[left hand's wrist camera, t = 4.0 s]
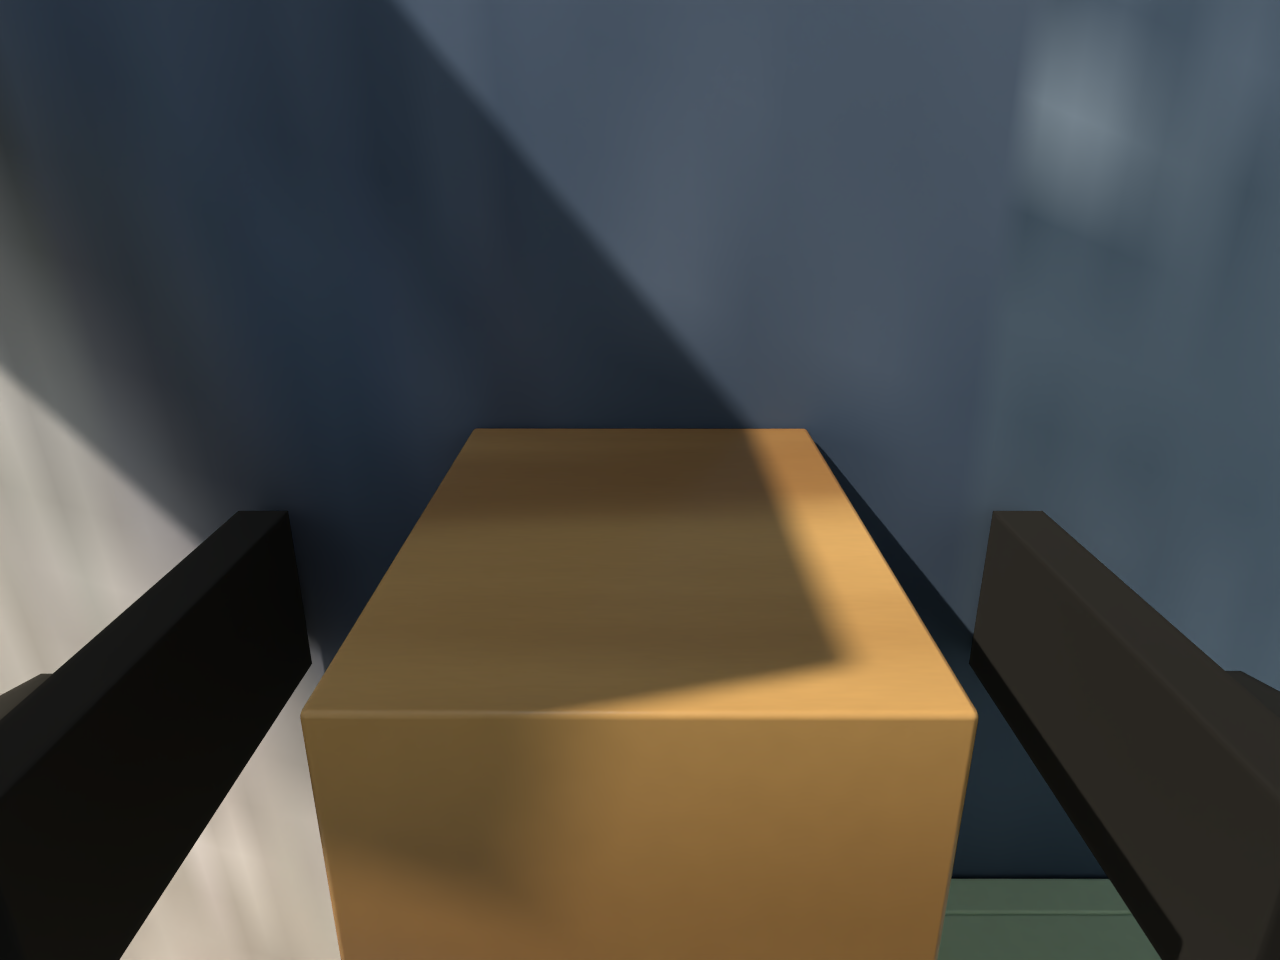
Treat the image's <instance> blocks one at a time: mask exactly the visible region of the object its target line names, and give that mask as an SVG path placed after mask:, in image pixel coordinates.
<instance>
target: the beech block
mask: <svg viewBox="0 0 1280 960" xmlns="http://www.w3.org/2000/svg"><path fill="white" fill-rule="evenodd" d="M300 717H301V724H302V730H303V736H304V742H305V748H306V754H307V760H308V765H309V771H310V777H311V783H312V789H313V795H314V801H315V807H316V813H317V819H318V825H319V831H320V837H321V843H322V849H323V855H324V861H325V867H326V873H327V878H328V884H329V890H330V896H331V902H332V908H333V914H334V920H335V926H336V932H337V938H338V944H339V950H340V956H341V960H938V954H939V948H940V942H941V936H942V930H943V924H944V918H945V912H946V906H947V901H948V895H949V889H950V883H951V877H952V871H953V865H954V859H955V853H956V848H957V842H958V836H959V830H960V824H961V818H962V812H963V806H964V800H965V794H966V789H967V783H968V777H969V771H970V765H971V759H972V753H973V747H974V741H975V736H976V730H977V724H978V713H977V710H976V709H975V707H974V705H973V704H972V702H971V701H970V699H969V697H968V696H967V694H966V692H965V691H964V689H963V687H962V686H961V684H960V682H959V681H958V679H957V677H956V676H955V674H954V672H953V671H952V669H951V667H950V666H949V664H948V663H947V661H946V659H945V658H944V656H943V654H942V653H941V651H940V649H939V648H938V646H937V644H936V643H935V641H934V639H933V638H932V636H931V634H930V633H929V631H928V629H927V628H926V626H925V625H924V623H923V621H922V620H921V618H920V616H919V615H918V613H917V611H916V610H915V608H914V606H913V605H912V603H911V601H910V600H909V598H908V596H907V595H906V593H905V591H904V590H903V588H902V587H901V585H900V583H899V582H898V580H897V578H896V577H895V575H894V573H893V572H892V570H891V568H890V567H889V565H888V563H887V562H886V560H885V558H884V557H883V555H882V553H881V552H880V550H879V549H878V547H877V545H876V544H875V542H874V540H873V539H872V537H871V535H870V534H869V532H868V530H867V529H866V527H865V525H864V524H863V522H862V520H861V519H860V517H859V515H858V514H857V512H856V510H855V509H854V507H853V506H852V504H851V502H850V501H849V499H848V497H847V496H846V494H845V492H844V491H843V489H842V487H841V486H840V484H839V482H838V481H837V479H836V477H835V476H834V474H833V472H832V471H831V469H830V468H829V466H828V464H827V463H826V461H825V459H824V458H823V456H822V454H821V453H820V451H819V449H818V448H817V446H816V444H815V443H814V441H813V439H812V438H811V436H810V434H809V433H808V431H807V430H805V429H474V430H473V431H472V433H471V435H470V436H469V438H468V440H467V441H466V443H465V445H464V446H463V448H462V449H461V451H460V453H459V454H458V456H457V458H456V459H455V461H454V463H453V464H452V466H451V467H450V469H449V471H448V472H447V474H446V476H445V477H444V479H443V481H442V482H441V484H440V485H439V487H438V489H437V490H436V492H435V494H434V495H433V497H432V498H431V500H430V502H429V503H428V505H427V507H426V508H425V510H424V512H423V513H422V515H421V516H420V518H419V520H418V521H417V523H416V525H415V526H414V528H413V530H412V531H411V533H410V534H409V536H408V538H407V539H406V541H405V543H404V544H403V546H402V548H401V549H400V551H399V552H398V554H397V556H396V557H395V559H394V561H393V562H392V564H391V565H390V567H389V569H388V570H387V572H386V574H385V575H384V577H383V579H382V580H381V582H380V583H379V585H378V587H377V588H376V590H375V592H374V593H373V595H372V597H371V598H370V600H369V601H368V603H367V605H366V606H365V608H364V610H363V611H362V613H361V615H360V616H359V618H358V619H357V621H356V623H355V624H354V626H353V628H352V629H351V631H350V632H349V634H348V636H347V637H346V639H345V641H344V642H343V644H342V646H341V647H340V649H339V650H338V652H337V654H336V655H335V657H334V659H333V660H332V662H331V664H330V665H329V667H328V668H327V670H326V672H325V673H324V675H323V677H322V678H321V680H320V682H319V683H318V685H317V686H316V688H315V690H314V691H313V693H312V695H311V696H310V698H309V699H308V701H307V703H306V704H305V706H304V708H303V709H302V712H301V715H300Z"/></svg>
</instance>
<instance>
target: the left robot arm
mask: <svg viewBox="0 0 1280 960" xmlns="http://www.w3.org/2000/svg"><path fill="white" fill-rule="evenodd" d="M311 664H312V661H311V654H310V648H309V642H308V635H307V629H306V623H305V616H304V610H303V603H302V597H301V591H300V584H299V578H298V572H297V565H296V559H295V553H294V546H293V540H292V534H291V527H290V521H289V514H288V511H238V512H237V513H236V514H235V515H234V516H232V517H231V518H230V519H229V520H228V521H227V522H226V523H224V524H223V525H222V526H221V527H220V528H219V529H218V530H216V531H215V532H214V533H213V534H212V535H211V536H210V537H208V538H207V539H206V540H205V541H204V542H203V543H202V544H200V545H199V546H198V547H197V548H196V549H195V550H194V551H192V552H191V553H190V554H189V555H188V556H187V557H186V558H185V559H183V560H182V561H181V562H180V563H179V564H178V565H177V566H175V567H174V568H173V569H172V570H171V571H170V572H169V573H167V574H166V575H165V576H164V577H163V578H162V579H161V580H159V581H158V582H157V583H156V584H155V585H154V586H153V587H151V588H150V589H149V590H148V591H147V592H146V593H145V594H143V595H142V596H141V597H140V598H139V599H138V600H137V601H135V602H134V603H133V604H132V605H131V606H130V607H129V608H127V609H126V610H125V611H124V612H123V613H122V614H121V615H119V616H118V617H117V618H116V619H115V620H114V621H113V622H111V623H110V624H109V625H108V626H107V627H106V628H105V629H104V630H102V631H101V632H100V633H99V634H98V635H97V636H96V637H94V638H93V639H92V640H91V641H90V642H89V643H88V644H86V645H85V646H84V647H83V648H82V649H81V650H80V651H78V652H77V653H76V654H75V655H74V656H73V657H72V658H70V659H69V660H68V661H67V662H66V663H65V664H64V665H62V666H61V667H60V668H59V669H58V670H57V671H56V672H54V673H53V674H40V675H38V676H36V677H34V678H32V679H30V680H29V681H27V682H25V683H23V684H21V685H19V686H17V687H15V688H14V689H12V690H10V691H8V692H6V693H4V694H2V695H0V960H120V958H121V956H122V955H123V953H124V952H125V950H126V949H127V947H128V946H129V944H130V943H131V941H132V940H133V938H134V936H135V935H136V933H137V932H138V930H139V929H140V927H141V926H142V924H143V923H144V921H145V920H146V918H147V916H148V915H149V913H150V912H151V910H152V909H153V907H154V906H155V904H156V903H157V901H158V900H159V898H160V896H161V895H162V893H163V892H164V890H165V889H166V887H167V886H168V884H169V883H170V881H171V880H172V878H173V877H174V875H175V873H176V872H177V870H178V869H179V867H180V866H181V864H182V863H183V861H184V860H185V858H186V857H187V855H188V853H189V852H190V850H191V849H192V847H193V846H194V844H195V843H196V841H197V840H198V838H199V837H200V835H201V833H202V832H203V830H204V829H205V827H206V826H207V824H208V823H209V821H210V820H211V818H212V817H213V815H214V813H215V812H216V810H217V809H218V807H219V806H220V804H221V803H222V801H223V800H224V798H225V797H226V795H227V793H228V792H229V790H230V789H231V787H232V786H233V784H234V783H235V781H236V780H237V778H238V777H239V775H240V773H241V772H242V770H243V769H244V767H245V766H246V764H247V763H248V761H249V760H250V758H251V757H252V755H253V753H254V752H255V750H256V749H257V747H258V746H259V744H260V743H261V741H262V740H263V738H264V737H265V735H266V733H267V732H268V730H269V729H270V727H271V726H272V724H273V723H274V721H275V720H276V718H277V717H278V715H279V713H280V712H281V710H282V709H283V707H284V706H285V704H286V703H287V701H288V700H289V698H290V697H291V695H292V693H293V692H294V690H295V689H296V687H297V686H298V684H299V683H300V681H301V680H302V678H303V677H304V675H305V673H306V672H307V670H308V669H309V667H310V666H311ZM969 664H970V666H971V667H972V669H973V670H974V672H975V674H976V675H977V677H978V678H979V680H980V681H981V683H982V684H983V686H984V687H985V689H986V690H987V692H988V694H989V695H990V697H991V698H992V700H993V701H994V703H995V704H996V706H997V707H998V709H999V710H1000V712H1001V714H1002V715H1003V717H1004V718H1005V720H1006V721H1007V723H1008V724H1009V726H1010V727H1011V729H1012V730H1013V732H1014V733H1015V735H1016V737H1017V738H1018V740H1019V741H1020V743H1021V744H1022V746H1023V747H1024V749H1025V750H1026V752H1027V753H1028V755H1029V757H1030V758H1031V760H1032V761H1033V763H1034V764H1035V766H1036V767H1037V769H1038V770H1039V772H1040V773H1041V775H1042V777H1043V778H1044V780H1045V781H1046V783H1047V784H1048V786H1049V787H1050V789H1051V790H1052V792H1053V793H1054V795H1055V797H1056V798H1057V800H1058V801H1059V803H1060V804H1061V806H1062V807H1063V809H1064V810H1065V812H1066V813H1067V815H1068V817H1069V818H1070V820H1071V821H1072V823H1073V824H1074V826H1075V827H1076V829H1077V830H1078V832H1079V833H1080V835H1081V837H1082V838H1083V840H1084V841H1085V843H1086V844H1087V846H1088V847H1089V849H1090V850H1091V852H1092V853H1093V855H1094V857H1095V858H1096V860H1097V861H1098V863H1099V864H1100V866H1101V867H1102V869H1103V870H1104V872H1105V873H1106V875H1107V877H1108V878H1109V880H1110V881H1111V883H1112V884H1113V886H1114V887H1115V889H1116V890H1117V892H1118V893H1119V895H1120V897H1121V898H1122V900H1123V901H1124V903H1125V904H1126V906H1127V907H1128V909H1129V910H1130V912H1131V913H1132V915H1133V917H1134V918H1135V920H1136V921H1137V923H1138V924H1139V926H1140V927H1141V929H1142V930H1143V932H1144V933H1145V935H1146V936H1147V938H1148V940H1149V941H1150V943H1151V944H1152V946H1153V947H1154V949H1155V950H1156V952H1157V953H1158V955H1159V956H1160V958H1161V960H1280V691H1278V690H1276V689H1274V688H1272V687H1270V686H1268V685H1266V684H1264V683H1263V682H1261V681H1259V680H1257V679H1255V678H1253V677H1251V676H1249V675H1247V674H1246V673H1244V672H1242V671H1224V670H1223V669H1222V668H1221V667H1220V666H1219V665H1218V664H1216V663H1215V662H1214V661H1213V660H1212V659H1211V658H1210V657H1208V656H1207V655H1206V654H1205V653H1204V652H1203V651H1202V650H1200V649H1199V648H1198V647H1197V646H1196V645H1195V644H1194V643H1192V642H1191V641H1190V640H1189V639H1188V638H1187V637H1186V636H1184V635H1183V634H1182V633H1181V632H1180V631H1179V630H1178V629H1176V628H1175V627H1174V626H1173V625H1172V624H1171V623H1170V622H1168V621H1167V620H1166V619H1165V618H1164V617H1163V616H1162V615H1160V614H1159V613H1158V612H1157V611H1156V610H1155V609H1154V608H1152V607H1151V606H1150V605H1149V604H1148V603H1147V602H1146V601H1144V600H1143V599H1142V598H1141V597H1140V596H1139V595H1138V594H1136V593H1135V592H1134V591H1133V590H1132V589H1131V588H1130V587H1129V586H1127V585H1126V584H1125V583H1124V582H1123V581H1122V580H1121V579H1119V578H1118V577H1117V576H1116V575H1115V574H1114V573H1113V572H1111V571H1110V570H1109V569H1108V568H1107V567H1106V566H1105V565H1103V564H1102V563H1101V562H1100V561H1099V560H1098V559H1097V558H1095V557H1094V556H1093V555H1092V554H1091V553H1090V552H1089V551H1087V550H1086V549H1085V548H1084V547H1083V546H1082V545H1081V544H1079V543H1078V542H1077V541H1076V540H1075V539H1074V538H1073V537H1071V536H1070V535H1069V534H1068V533H1067V532H1066V531H1065V530H1063V529H1062V528H1061V527H1060V526H1059V525H1058V524H1057V523H1055V522H1054V521H1053V520H1052V519H1051V518H1050V517H1049V516H1047V515H1046V514H1045V513H1044V512H1043V511H993V515H992V521H991V528H990V534H989V540H988V547H987V553H986V559H985V566H984V572H983V578H982V585H981V591H980V597H979V604H978V610H977V616H976V623H975V629H974V635H973V642H972V648H971V654H970V661H969Z"/></svg>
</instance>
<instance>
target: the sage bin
mask: <svg viewBox="0 0 1280 960" xmlns="http://www.w3.org/2000/svg"><path fill="white" fill-rule="evenodd" d="M938 960H1161V958H1160V956H1159V955H1158V953H1157V952H1156V950H1155V949H1154V947H1153V946H1152V944H1151V943H1150V941H1149V940H1148V938H1147V936H1146V935H1145V933H1144V932H1143V930H1142V929H1141V927H1140V926H1139V924H1138V923H1137V921H1136V920H1135V918H1134V917H1133V915H1132V913H1131V912H1130V910H1129V909H1128V907H1127V906H1126V904H1125V903H1124V901H1123V900H1122V898H1121V897H1120V895H1119V893H1118V892H1117V890H1116V889H1115V887H1114V886H1113V884H1112V883H1111V881H1110V880H1109V879H951V883H950V889H949V895H948V901H947V906H946V912H945V918H944V924H943V930H942V936H941V942H940V948H939V954H938Z"/></svg>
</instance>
